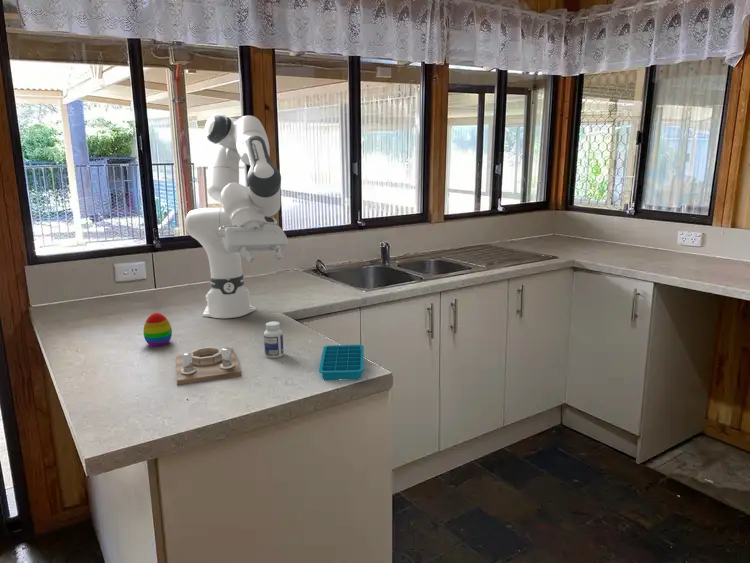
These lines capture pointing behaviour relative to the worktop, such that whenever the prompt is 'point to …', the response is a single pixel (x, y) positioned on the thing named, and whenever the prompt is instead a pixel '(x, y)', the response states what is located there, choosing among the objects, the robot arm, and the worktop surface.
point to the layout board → (206, 366)
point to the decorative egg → (157, 330)
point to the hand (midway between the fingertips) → (265, 259)
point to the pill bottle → (273, 340)
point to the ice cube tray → (342, 362)
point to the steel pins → (190, 370)
